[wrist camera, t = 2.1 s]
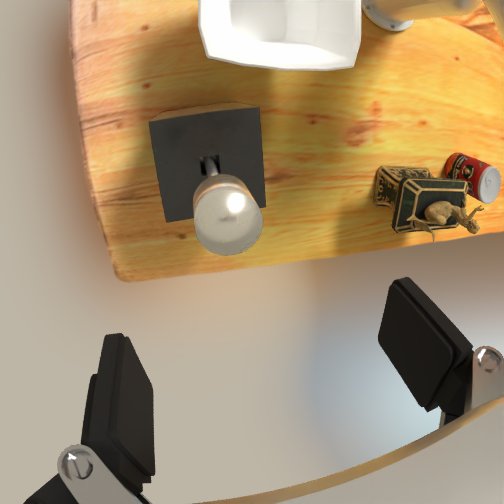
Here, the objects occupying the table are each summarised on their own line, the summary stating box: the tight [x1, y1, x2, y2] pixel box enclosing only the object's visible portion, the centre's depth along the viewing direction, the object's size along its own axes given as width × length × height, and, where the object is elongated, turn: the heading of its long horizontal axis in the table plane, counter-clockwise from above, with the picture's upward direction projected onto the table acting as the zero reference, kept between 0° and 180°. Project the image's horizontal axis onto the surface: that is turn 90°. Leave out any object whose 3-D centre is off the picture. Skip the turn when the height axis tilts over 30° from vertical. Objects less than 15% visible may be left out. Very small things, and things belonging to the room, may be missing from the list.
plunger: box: [193, 155, 263, 255], centre depth 27 cm, size 9×9×20 cm
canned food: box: [445, 153, 501, 204], centre depth 51 cm, size 8×8×11 cm
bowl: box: [198, 0, 361, 71], centre depth 31 cm, size 19×19×14 cm
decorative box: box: [374, 166, 484, 244], centre depth 47 cm, size 20×10×20 cm, turn 90°
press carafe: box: [149, 102, 266, 223], centre depth 39 cm, size 14×11×16 cm
